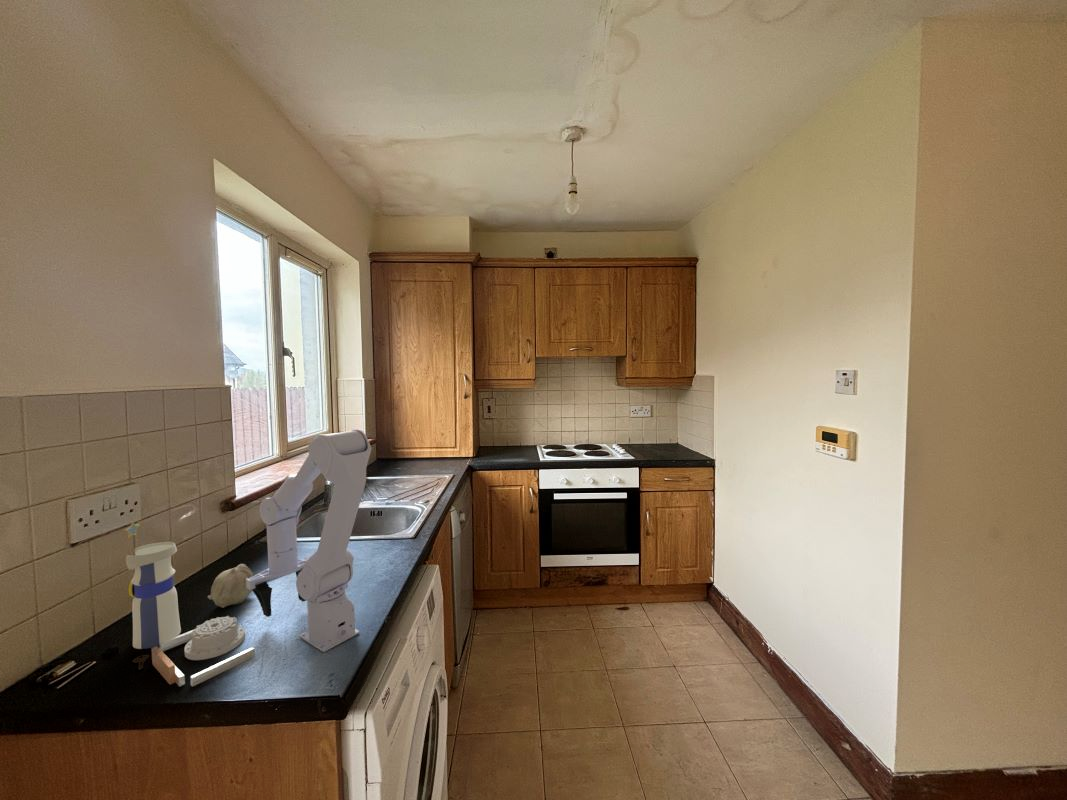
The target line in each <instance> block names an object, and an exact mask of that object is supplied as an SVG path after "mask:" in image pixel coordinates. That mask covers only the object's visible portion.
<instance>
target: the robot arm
mask: <svg viewBox="0 0 1067 800" xmlns="http://www.w3.org/2000/svg"><path fill="white" fill-rule="evenodd" d="M307 447H308V448H307V449H308V455H307V457H306V459H305V460H304V462H303V463H302V464H301V467H300V468H299V470H298V471H297V473H292V474H289V475H287V476H286V477H285V478H284V482H283V483H282V484H281V486H279V487H278V489H276V491H275V493H274V494H273V496H270V497H265V498H263V499H261V503H260V505H259V514H260V515H259V516H260V519H261V520H262V522H263V523H264V524H265V525H266V538H267V539H266V542H267V563H268V568H267V569H265V570H262V571H260V572H259V573H257V574H253V575H254V576H252V577H250V578H247V579H246V588H248V589H250V590H252V593H253V594H254V595H255V597H256V599H257V600H258V602H259V604H260V607H261V610H262V614H263V615H264V616H265V617H266V618H268V617H271V616H272V604H271V601H272V592H273V588H272V587H270V586H269V585H270V584H269V582H273V581H275V580H277V579H281V578H282V577H286V576H288V575H291V574H294V573H295V576H296V581H295V587H296V591H297V595H298V600H299V601H301V602H303V603H304V602H306V604H307V605H306V608H307V628H308V629H307V630H306V631H304V632H302V633H300V635H299V638H300V639H302V640H303V641H305V642H307V643H309V644H310V645H311V646H313V647H314V648H316V649H317V650H319V651H320V652H323V653H326V652H327V651H329V650H331V649H333V648H335V647H336V646H338V645H340V644H341V643H343V642H346V641H347V640H348V639H351V638H353V637H354V636H356V635H359V633H360V630H359V629H357V628H356V621H355V619H356V617H355V606H354V603H353V602H352V601H351V600H349V598H348V597H347V594H346V589H348V588H349V582H350V581H351V580H352V578H353V575H354V567H353V565H354V559H355V556H353V554H352V553H351V552H350V551H349V550H348V546H349V543H350V539H351V536H352V531H353V529H354V525H355V522H356V518H357V515H358V511H359V509H360V504H361V500H362V496H363V493H364V491H365V486H366V482H367V467H368V463H369V459H370V456H371V454H372V453H371V452H372V449H373V448H372V446H371V444H370V440H369V438H368V437H367V435H366V433H365V432H364V431H362V430H361V429H352V430H349V431H341V432H340V431H339V432H334V433H326V434H324V433H323V434H322V433H321V434H317V435H315V436H314V437H313V439H312V440H311V442H310V443H309V444H308V445H307ZM321 474H322V475H323V477H324V478H325V480H326V481H328V482H330V483H333V484H334V487H333V491H332V494H331V497H330V498H331V499H330V502H329V506H328V508H327V509H328V510H327V513H326V517H325V519H324V520H325V521H324V524H323V528H322V531H321V536H320V539H319V542H318V546H317V549H316V551H315V552H314V553H313V554H312V555H310V556H306V557H303V558H298V540H297V538H298V537H297V536H298V535H297V526H298V525H299V522H300V521H299V518H300V515H301V514H302V510H303V509H302V504H303V503H304V501H305V500H306V499H307V498H308V496H309V495H310V494H311V493H312V492H313V490H314V489H313V487H314V483H313V482H314V481H315V480H316V479H317V478H318V477H319V476H320V475H321Z"/></svg>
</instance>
